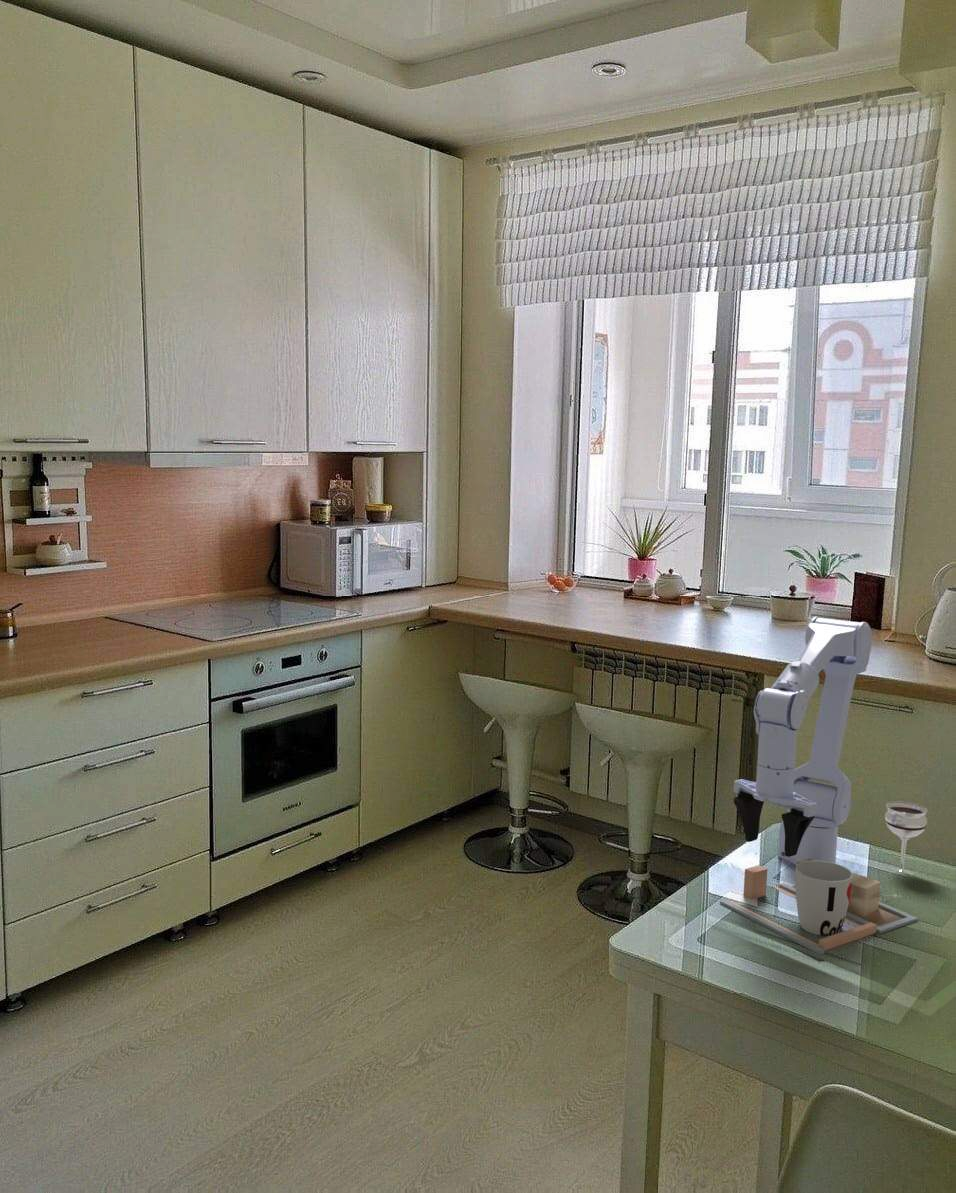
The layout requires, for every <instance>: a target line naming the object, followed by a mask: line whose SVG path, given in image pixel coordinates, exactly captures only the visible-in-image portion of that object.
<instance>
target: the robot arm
mask: <svg viewBox="0 0 956 1193" xmlns="http://www.w3.org/2000/svg"><path fill="white" fill-rule="evenodd" d="M872 632H873V631H872V628H871V626H870V625H869V623H868V622H866V621H861V622H859V621H851V620H850V621H849V620H843V619H836V618H835V619H834V618H825V617H821V616H813V617H812V619H810V620H809V622H808V624H807V626H806V629H805V635H804V636H805V637H804V640H805V641H804V642H805V645H806V646H805V648H804V650H803V652H802V653H801V655H800V657H799V659H798V660H797V661H792V662H790V663H789V664H787V665H786V667H785V668H784V669H783V671H782V672H781V673H780V675H779V676H778V678H777V679H776V680H775V682H774V683H773V684H772V686H771V687H766V688H764V689H762V690H760V691H759V692H758V694H757V696H756V698H755V701H754V707H753V716H754V720H755V733H756V734H757V735H758V744H757V745H758V746H757V760H756V761H757V764H756V780H755V781H751V780H747V779H745V778H744V779H743V778H740V779H736V780H734V781H733V793H735V794H738V795H737V796H735V797H734V798H733V804H734V806H735V807H736V809H737V811H738V814H739V816H740V820H741V823H742V826H743V832H744V836H745V842H748V843H750V842H753V841H757V840H758V837H759V833H760V820H761V815H762V809H763V807H764V804H765V802H767V803H770V804H773V805H776V806H778V807H782V808H784V809H786V810H787V812H785V813H781V819H782V820H781V823H780V824H779V829H778V844H777V845H778V846H777V857H778V858H781V859H782V860H785V861H788V862H790V863H791V864H793V865H795V866H796V865H797V862H799V861H802V860H806V859H812V860H814V861H825V862H831V863H835V864H837V863H836V861H837V860H836V858H837V847H838V833H839V832H838V830H839V825H842V824H843V823H844V822H846V821H847V819H848V817H849V815H850V812H851V807H852V806H851V805H852V797H851V796H852V795H851V794H852V789H853V788H852V787H853V786H852V783H851V780H850V779H849V778H848V777H847V776H846V774H845V773H844V772H843V771H842V770H841V769H840V768H839V765H840V764H839V763H840V758H841V754H842V748H843V742H844V738H845V733H846V727H847V722H848V718H849V717H848V716H849V712H850V711H849V710H850V705H851V703H852V702H851V701H852V697H853V696H852V695H853V691H854V687H855V686H854V685H855V682H856V679H857V675H859V674H862V673H864V672H866V671H867V666H868V665H869V661H870V656H871V655H870V654H871V651H872V644H873V636H872ZM822 670H823V671H824V673H825V679H824V684H823V689H822V693H821V698H820V705H819V710H818V715H817V719H816V725H815V730H814V735H813V738H812V739H813V740H812V745H811V748H810V749H811V750H810V755H809V760H808V762H806V763H804V764H802V765H800V766H798V767H796V756H797V755H796V754H797V739H798V729H799V728H800V727H801V726H802V724H803V721H804V718H805V714H806V712H807V709H808V707H809V706H808V701H809V699H810V698H811V697H812V695H813V694H814V692H815V691H816V690H817V688H818V686H819V684H820V676H819V674H820V672H821V671H822ZM810 780H815V781H818V782H815V781H810ZM820 782H825V783H828V784H824V783H820ZM831 784H833V785H834V786H833V785H831Z"/></svg>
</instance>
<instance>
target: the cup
mask: <svg viewBox="0 0 956 1193" xmlns="http://www.w3.org/2000/svg"><path fill="white" fill-rule="evenodd" d="M852 873H853V872H852V870H850V869H849V868H848V867H845V866H843V865H841V864H838V863H831V862H825V861H804V862H800V863H798V864H797V865H795V885H796V894H795V895H796V898H795V899H796V900H795V901H796V907H797V908H796V910H797V917H798V920H799V926H800V927H801V928H802V929H803V930H805V931H806V932H808V933H811V934H814V935H818V936H825V937H828V936H831V935H834V934H837V933H840V932H842V931H841V930H842V928H843V926H844V924H845V921H844V920H845V918H846V917H845V916H846V912H847V909H848V905H849V900H850V892H851V885H852V878H853V874H852Z"/></svg>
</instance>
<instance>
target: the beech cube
mask: <svg viewBox="0 0 956 1193" xmlns="http://www.w3.org/2000/svg"><path fill="white" fill-rule="evenodd" d="M852 874H853V878H852V885H851V892H850V900H849V905H848V909H847V911H849V912H852V913H855V914H857V915H860V916H863V917H865V916H867V915H868V914H870V913H872V912H874V911H876V910H877V909H878V908H879V907H878V906H879V901H880V891H881V881H880V880H877V879H874V878H871V877H869V876H868V877H867V876H864V875H861V874H859V873H855V872H852Z"/></svg>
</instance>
